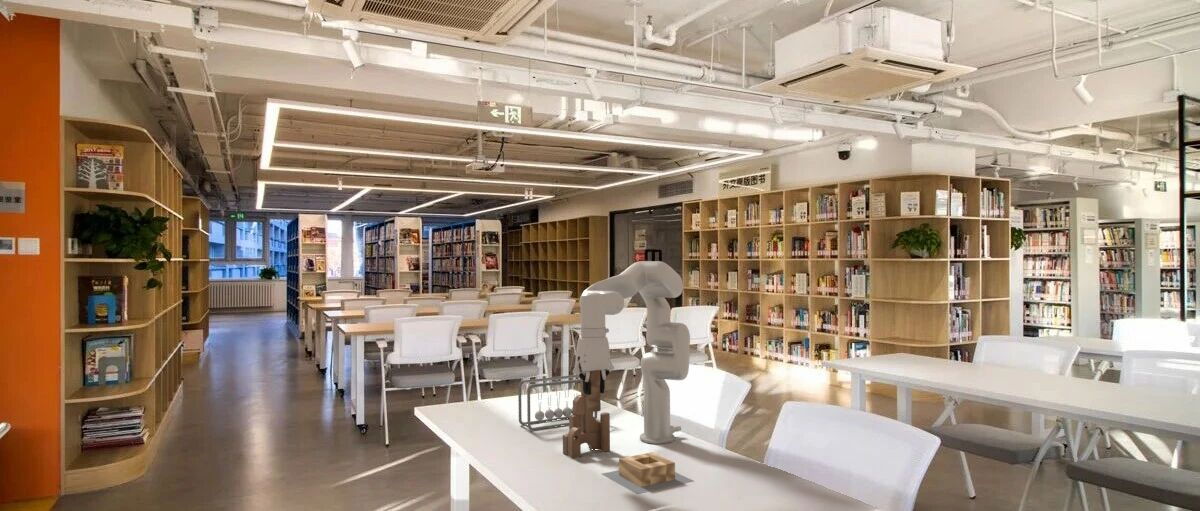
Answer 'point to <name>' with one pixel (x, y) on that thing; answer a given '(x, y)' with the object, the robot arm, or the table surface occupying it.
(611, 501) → the table surface
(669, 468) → the square-hole wood block
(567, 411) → the newton's cradle
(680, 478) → the slate mat
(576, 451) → the wooden toy
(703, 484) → the table surface
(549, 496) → the table surface
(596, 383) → the walnut dowel
